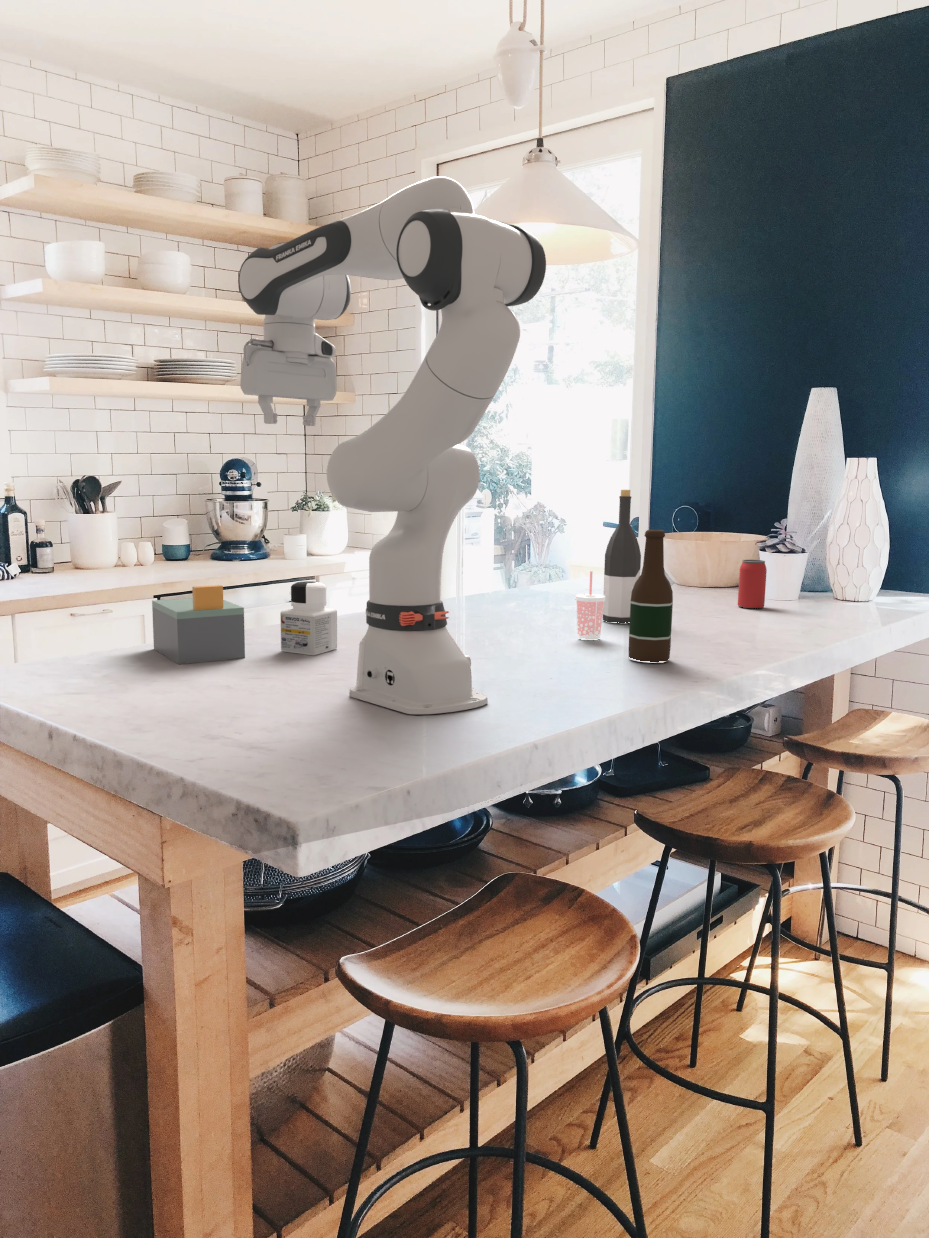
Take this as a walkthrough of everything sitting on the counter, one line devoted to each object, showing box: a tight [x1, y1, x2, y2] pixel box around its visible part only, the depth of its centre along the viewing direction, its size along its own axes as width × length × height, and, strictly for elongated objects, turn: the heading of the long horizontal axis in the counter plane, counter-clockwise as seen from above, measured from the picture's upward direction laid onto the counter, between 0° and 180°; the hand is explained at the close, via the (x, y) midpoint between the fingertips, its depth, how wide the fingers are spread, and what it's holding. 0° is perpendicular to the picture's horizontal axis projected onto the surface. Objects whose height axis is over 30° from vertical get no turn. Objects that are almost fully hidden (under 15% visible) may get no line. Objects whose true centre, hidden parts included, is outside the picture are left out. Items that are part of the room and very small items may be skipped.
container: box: [280, 580, 338, 656], centre depth 181 cm, size 8×8×13 cm
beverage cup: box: [574, 571, 605, 639], centre depth 197 cm, size 6×6×14 cm
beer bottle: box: [628, 529, 674, 662], centre depth 176 cm, size 8×8×24 cm
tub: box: [151, 606, 246, 665], centre depth 177 cm, size 16×12×8 cm
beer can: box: [737, 559, 767, 610], centre depth 245 cm, size 7×7×12 cm
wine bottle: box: [602, 489, 642, 623], centre depth 219 cm, size 8×8×30 cm
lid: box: [151, 584, 245, 619], centre depth 176 cm, size 16×12×6 cm
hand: (290, 425), depth 169 cm, fingers open, 8 cm apart
